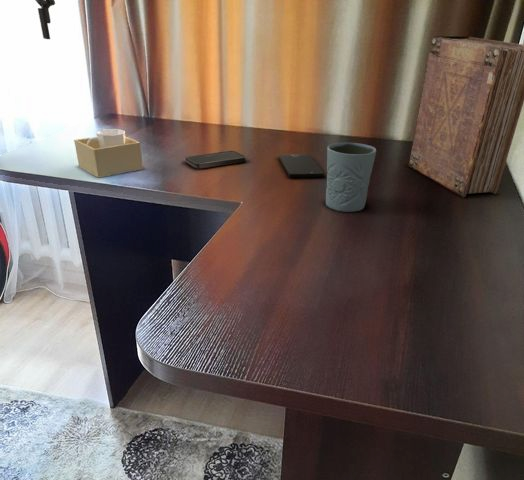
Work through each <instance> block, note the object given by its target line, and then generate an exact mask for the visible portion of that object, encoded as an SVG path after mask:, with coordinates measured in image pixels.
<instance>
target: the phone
mask: <svg viewBox="0 0 524 480" xmlns="http://www.w3.org/2000/svg"><path fill="white" fill-rule="evenodd" d="M245 162H247V157H246V155H243V154H241V153H240V152H237V151H235V150H227V151H219V152H211V153H205V154H198V155H197V154H196V155H190V156H189V155H187V156H185V163H186V164H188V165H190V166H191V167H193V168H195V169H206V168H213V167H221V166H226V165H232V164H234V165H235V164H239V163H240V164H241V163H245Z"/></svg>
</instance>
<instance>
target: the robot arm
mask: <svg viewBox="0 0 524 480" xmlns="http://www.w3.org/2000/svg"><path fill="white" fill-rule="evenodd" d="M34 1H35V2H36V3H37V5H39V7H38V8H37V11H38V17H39V22H40V27H41V33H42V38H43V40H51V36H50V31H49V30H50V29H49V25H48V24H51V16H50V10H49V9H50V7H52V6H55V5H56V2H55V0H34Z"/></svg>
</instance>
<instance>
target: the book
mask: <svg viewBox="0 0 524 480" xmlns="http://www.w3.org/2000/svg"><path fill="white" fill-rule="evenodd" d="M422 84H423V85H422V91H421V95H420V102H419V106H418V112H417V118H416V124H415V128H414V135H413V139H412V145H411V151H410V156H409V162H408V167H410V168H411V169H413V170H414V171H417V172H418V173H420V174H422V175H423V176H425V177H426V178H428V179H430V180H432V181H434V182H435V183H437V184H439V185H440V186H442V187H444V188H446V189H448V190H449V191H451V192H453V193H455V194H457V195H458V196H460V197H461V198H465V197H466V196H467V195H473V194H482V193H490V194H492V195H496V194H497V193H498V191H499V186H500V184H501V181H502V176H503V173H504V170H505V166H506V163H507V159H508V157H509V153H510V151H511V146H512V143H513V139H514V136H515V133H516V129H517V126H518V123H519V120H520V116H521V112H522V110H523V106H524V44H523V43H522V44H521V43H514V42H507V41H501V40H494V39H486V38H480V37H472V36H465V35H464V36H456V35H455V36H446V35H445V36H441V35H438V36H435V35H434V36H432V38H431V41H430V46H429V52H428V56H427V63H426V69H425V73H424V80H423V83H422Z"/></svg>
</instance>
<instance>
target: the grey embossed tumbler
mask: <svg viewBox="0 0 524 480" xmlns="http://www.w3.org/2000/svg"><path fill="white" fill-rule="evenodd" d="M376 155H377V149H376V147H374V146H373V145H368V144H365V143H358V142H334V143H331V144H329V145H328V146H327V148H326V159H327V160H326V171H327V175H326V189H325V206H327V207H328V208H329V209H331V210H334V211H338V212H344V213H345V212H346V213H352V212H353V213H354V212H359V211H362V210H364V208H365V206H366V202H367V197H368V189H369V186H370V179H371V175H372V171H373V167H374V164H375V159H376Z"/></svg>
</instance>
